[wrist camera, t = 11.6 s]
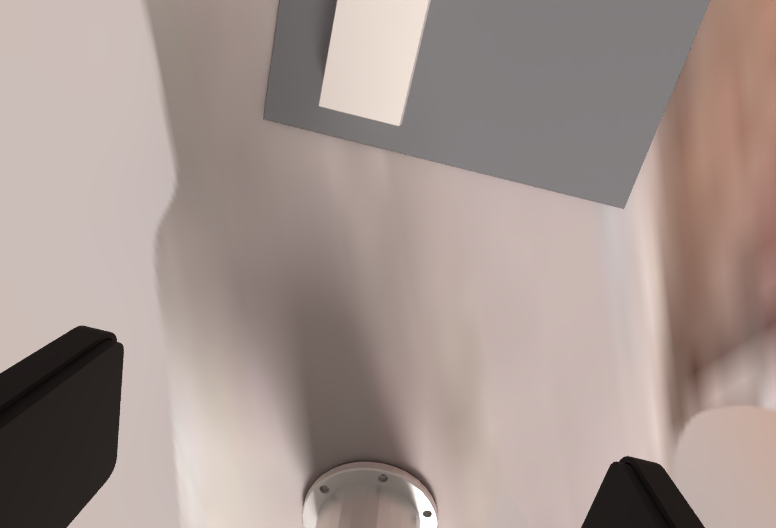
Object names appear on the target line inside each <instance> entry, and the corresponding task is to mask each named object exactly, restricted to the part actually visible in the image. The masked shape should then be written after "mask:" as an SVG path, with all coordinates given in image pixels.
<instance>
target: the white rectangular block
mask: <svg viewBox="0 0 776 528" xmlns="http://www.w3.org/2000/svg"><path fill="white" fill-rule="evenodd" d="M430 2H431V0H337V5H336V11H335V17H334V22H333V28H332V34H331V39H330V45H329V51H328V56H327V62H326V68H325V73H324V79H323V85H322V90H321V96H320V102H319V106H320V107H324V108H328V109H332V110H336V111H340V112H344V113H348V114H352V115H356V116H360V117H364V118H368V119H372V120H376V121H380V122H384V123H388V124H392V125H396V126H400V125H401V124H402V120H403V116H404V112H405V108H406V103H407V99H408V95H409V91H410V87H411V82H412V78H413V74H414V70H415V65H416V61H417V57H418V53H419V48H420V44H421V40H422V36H423V31H424V27H425V23H426V19H427V15H428V10H429V6H430Z"/></svg>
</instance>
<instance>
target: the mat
mask: <svg viewBox="0 0 776 528" xmlns="http://www.w3.org/2000/svg"><path fill="white" fill-rule="evenodd" d="M709 2H710V0H431V2H430V6H429V10H428V15H427V19H426V23H425V27H424V31H423V36H422V40H421V44H420V48H419V53H418V57H417V61H416V65H415V70H414V74H413V78H412V82H411V87H410V91H409V95H408V99H407V103H406V108H405V112H404V116H403V120H402V124H401V125H400V126H396V125H392V124H388V123H384V122H380V121H376V120H372V119H368V118H364V117H360V116H356V115H352V114H348V113H344V112H340V111H336V110H332V109H328V108H324V107H320V106H319V102H320V96H321V90H322V85H323V79H324V73H325V68H326V62H327V56H328V51H329V45H330V39H331V34H332V28H333V22H334V17H335V11H336V5H337V0H280V3H279V10H278V18H277V25H276V32H275V39H274V46H273V53H272V61H271V68H270V75H269V82H268V89H267V96H266V103H265V111H264V118H263V119H265V120H269V121H273V122H277V123H281V124H285V125H289V126H293V127H297V128H301V129H305V130H309V131H313V132H317V133H321V134H325V135H329V136H333V137H337V138H341V139H345V140H349V141H353V142H357V143H361V144H365V145H369V146H373V147H377V148H381V149H385V150H389V151H393V152H397V153H401V154H405V155H409V156H413V157H417V158H421V159H425V160H429V161H433V162H437V163H441V164H445V165H449V166H453V167H457V168H461V169H465V170H469V171H473V172H477V173H481V174H485V175H489V176H494V177H498V178H502V179H506V180H510V181H514V182H518V183H522V184H526V185H530V186H534V187H538V188H542V189H546V190H550V191H554V192H558V193H562V194H566V195H570V196H574V197H578V198H582V199H586V200H590V201H594V202H598V203H602V204H606V205H610V206H614V207H618V208H622V209H624V208H625V205H626V203H627V200H628V198H629V195H630V193H631V191H632V188H633V186H634V183H635V181H636V179H637V176H638V174H639V171H640V169H641V166H642V164H643V162H644V159H645V157H646V154H647V152H648V150H649V147H650V145H651V142H652V140H653V137H654V135H655V133H656V130H657V128H658V125H659V123H660V121H661V118H662V116H663V113H664V111H665V108H666V106H667V104H668V101H669V99H670V96H671V94H672V92H673V89H674V87H675V84H676V82H677V79H678V77H679V75H680V72H681V70H682V67H683V65H684V63H685V60H686V58H687V55H688V53H689V50H690V48H691V46H692V43H693V41H694V38H695V36H696V34H697V31H698V29H699V26H700V24H701V21H702V19H703V17H704V14H705V12H706V9H707V7H708V5H709Z"/></svg>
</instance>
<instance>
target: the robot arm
mask: <svg viewBox="0 0 776 528" xmlns="http://www.w3.org/2000/svg"><path fill="white" fill-rule="evenodd" d="M123 355H124V349H123V345H122V344H121V343H119V342H117V338H116V336H115V334H113V333H111V332H108V331H104V330H99V329H95V328H91V327H87V326H78V327H76V328H74V329H72V330H71V331H69V332H67V333H66V334H64V335H63V336H61V337H59V338H58V339H56V340H54V341H53V342H51V343H49V344H48V345H46V346H44V347H43V348H41V349H40V350H38V351H36V352H35V353H33V354H31V355H30V356H28V357H26V358H25V359H23V360H22V361H20V362H18V363H17V364H15V365H13V366H12V367H10V368H8V369H7V370H5V371H4V372H2V373H0V528H67V526H68V525H69V524H70V523H71V522H72V520H74V518H75V517H76V516H77V515H78V514H79V512H80V511H81V510H82V509H83V508H84V506H85V505H86V504H87V503H88V502H89V501H90V500H91V499H92V497H93V496H94V495H95V494H96V493H97V492H98V490H99V489H100V488H101V487H102V486H103V485H104V483H105V482H106V481H107V480H108V478H109V477H110V475H111V474H112V471H113V469H114V467H115V464H116V459H117V447H118V431H119V416H120V401H121V385H122V370H123ZM302 523H303V527H304V528H438V514H437V507H436V505H435V502H434V500H433V497H432V496H431V494H430V493H429V491H428V490H427V488H426V487H425V486H424V485H423V484H422V483H421V482H420V481H419V480H418V479H416V478H415V477H413V476H412V475H410V474H409V473H408V472H406V471H403V470H401V469H399V468H397V467H394V466H391V465H387V464H384V463H377V462H353V463H348V464H343V465H341V466H338V467H335V468H333V469H331V470H329V471H328V472H326V473H324V474H323V475H321V476H320V477H319V478H318V479H317V480H316V481H315V482H314V483H313V485H312V486H311V488H310V489H309V491H308V493H307V496H306V499H305V502H304V506H303V510H302ZM581 528H705V527H704V526H703V524H702V523H701V521H700V520H699V518H698V517H697V516H696V514H695V513H694V511H693V510H692V509H691V507H690V506H689V504H688V503H687V501H686V500H685V498H684V497H683V495H682V494H681V493H680V491H679V490H678V488H677V487H676V485H675V484H674V482H673V481H672V480H671V478H670V477H669V475H668V474H667V472H666V471H665V469H664V468H663V467H662V466H661V465H660V464H657V463H654V462H650V461H646V460H642V459H638V458H634V457H629V456H626V457H623V458H622V459H621V460H620V461H619V462H613V463H612V464H611V465H610V467H609V469H608V471H607V473H606V475H605V478H604V480H603V482H602V484H601V486H600V488H599V491H598V493H597V495H596V497H595V499H594V501H593V504H592V506H591V508H590V510H589V512H588V514H587V516H586V519H585V521H584V523H583V525H582V527H581Z"/></svg>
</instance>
